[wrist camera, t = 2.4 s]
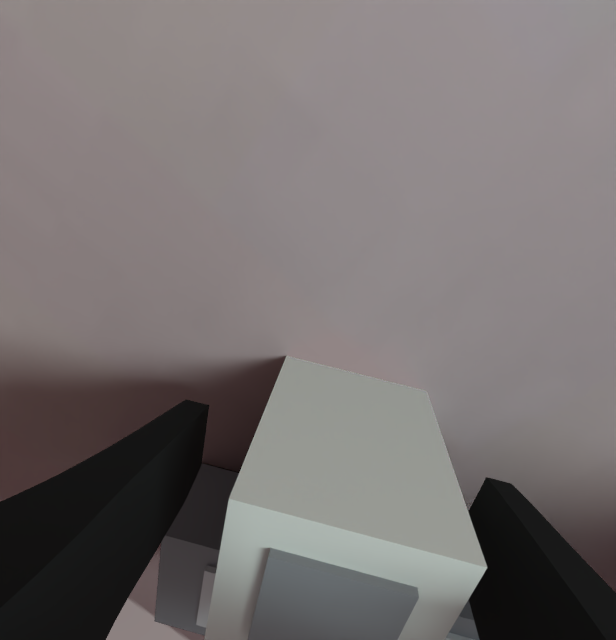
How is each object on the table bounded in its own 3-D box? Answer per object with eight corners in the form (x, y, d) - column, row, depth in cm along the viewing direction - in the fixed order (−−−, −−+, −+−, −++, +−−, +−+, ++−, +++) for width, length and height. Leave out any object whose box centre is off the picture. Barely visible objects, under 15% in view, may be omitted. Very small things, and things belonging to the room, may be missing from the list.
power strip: (569, 556, 11) (638, 678, 9) (515, 630, 13) (559, 755, 10) (119, 437, 12) (46, 514, 9) (117, 521, 13) (55, 610, 11)
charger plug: (426, 389, 10) (491, 577, 5) (383, 498, 12) (404, 720, 7) (286, 355, 10) (225, 506, 5) (262, 466, 12) (198, 662, 7)
